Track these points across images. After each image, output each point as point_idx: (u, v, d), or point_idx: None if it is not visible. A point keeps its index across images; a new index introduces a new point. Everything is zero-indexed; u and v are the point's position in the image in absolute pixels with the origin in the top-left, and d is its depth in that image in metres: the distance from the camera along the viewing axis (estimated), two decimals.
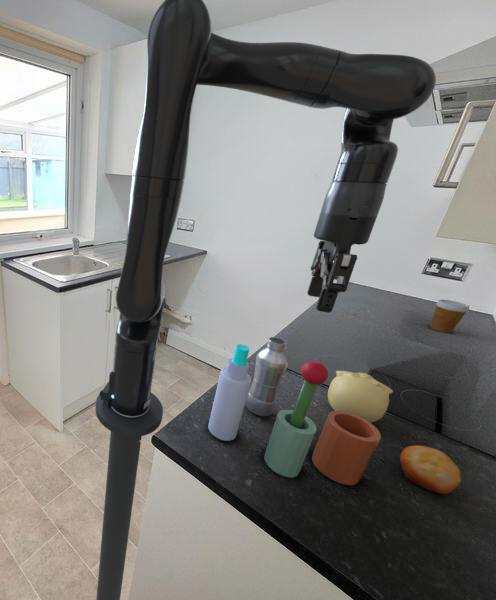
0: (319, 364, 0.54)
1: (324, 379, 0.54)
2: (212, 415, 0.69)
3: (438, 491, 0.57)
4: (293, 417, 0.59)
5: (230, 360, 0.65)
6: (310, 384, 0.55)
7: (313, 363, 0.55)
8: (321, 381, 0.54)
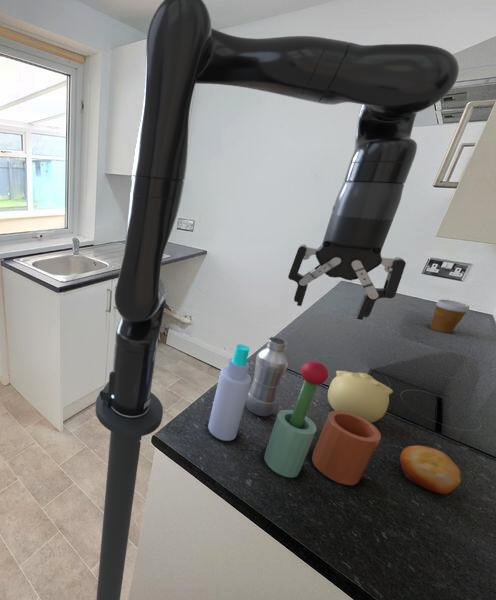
0: (319, 364, 0.54)
1: (324, 379, 0.54)
2: (212, 415, 0.69)
3: (438, 491, 0.57)
4: (293, 417, 0.59)
5: (230, 360, 0.65)
6: (310, 384, 0.55)
7: (313, 363, 0.55)
8: (321, 381, 0.54)
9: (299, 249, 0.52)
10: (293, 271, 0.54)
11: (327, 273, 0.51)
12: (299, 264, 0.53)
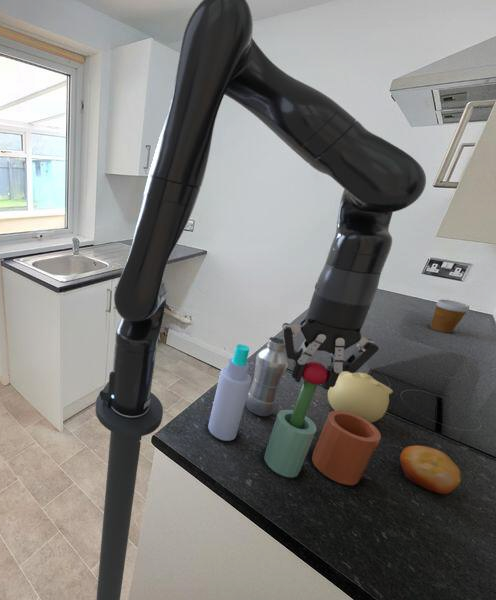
0: (319, 364, 0.54)
1: (324, 379, 0.54)
2: (212, 415, 0.69)
3: (438, 491, 0.57)
4: (293, 417, 0.59)
5: (230, 360, 0.65)
6: (310, 384, 0.55)
7: (313, 363, 0.55)
8: (321, 381, 0.54)
9: (285, 331, 0.54)
10: (289, 351, 0.55)
11: None
12: (291, 343, 0.54)
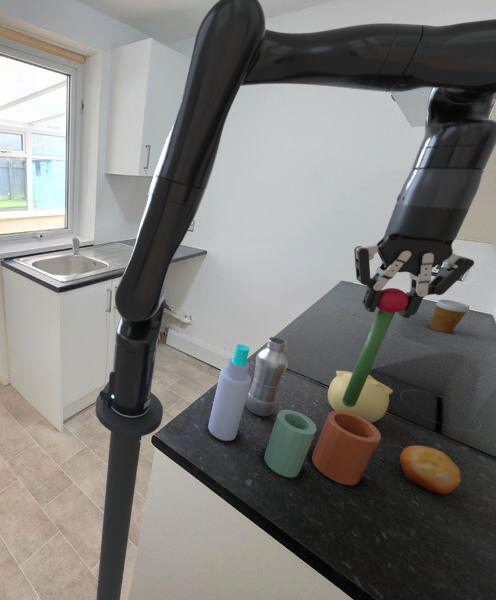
0: (398, 289, 0.49)
1: (405, 305, 0.48)
2: (212, 415, 0.69)
3: (438, 491, 0.57)
4: (363, 354, 0.54)
5: (230, 360, 0.65)
6: (387, 313, 0.50)
7: (391, 289, 0.49)
8: (401, 307, 0.48)
9: (360, 252, 0.49)
10: (364, 275, 0.49)
11: None
12: (367, 266, 0.49)
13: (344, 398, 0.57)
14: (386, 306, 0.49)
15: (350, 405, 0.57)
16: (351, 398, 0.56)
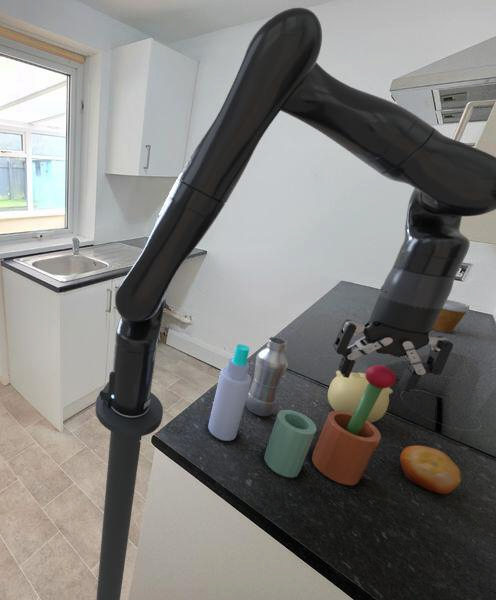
0: (387, 368, 0.54)
1: (392, 383, 0.54)
2: (212, 415, 0.69)
3: (438, 491, 0.57)
4: (353, 420, 0.59)
5: (230, 360, 0.65)
6: (376, 388, 0.55)
7: (381, 367, 0.55)
8: (389, 385, 0.54)
9: (349, 327, 0.53)
10: (342, 346, 0.55)
11: (376, 349, 0.53)
12: (348, 340, 0.54)
13: None
14: (376, 382, 0.55)
15: None
16: None
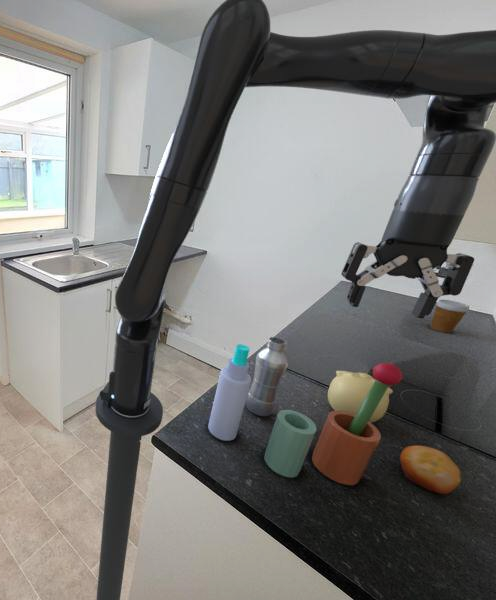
0: (394, 365, 0.56)
1: (399, 380, 0.55)
2: (212, 415, 0.69)
3: (438, 491, 0.57)
4: (357, 418, 0.60)
5: (230, 360, 0.65)
6: (382, 384, 0.57)
7: (389, 364, 0.57)
8: (396, 381, 0.55)
9: (359, 247, 0.49)
10: (351, 271, 0.51)
11: (388, 272, 0.49)
12: (358, 263, 0.50)
13: None
14: (383, 378, 0.56)
15: None
16: None
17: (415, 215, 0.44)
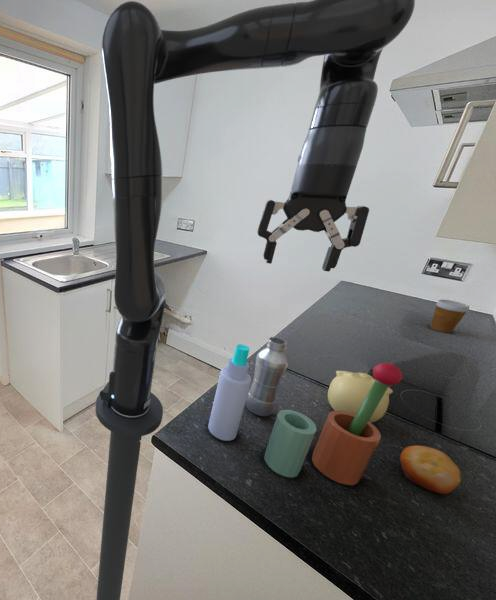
0: (394, 365, 0.56)
1: (399, 380, 0.55)
2: (212, 415, 0.69)
3: (438, 491, 0.57)
4: (357, 418, 0.60)
5: (230, 360, 0.65)
6: (382, 384, 0.57)
7: (389, 364, 0.57)
8: (396, 381, 0.55)
9: (268, 203, 0.51)
10: (263, 227, 0.52)
11: (296, 226, 0.51)
12: (268, 219, 0.52)
13: None
14: (383, 378, 0.56)
15: None
16: None
17: (311, 167, 0.46)
